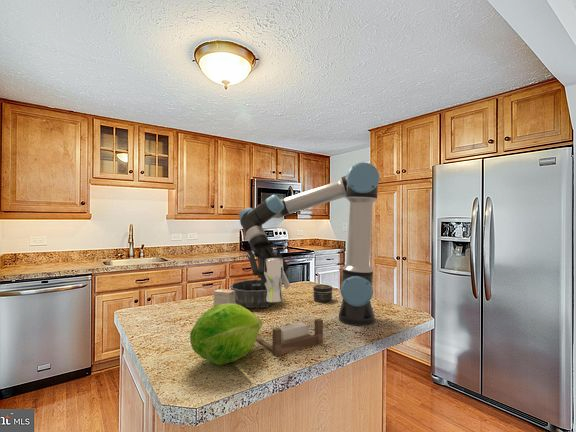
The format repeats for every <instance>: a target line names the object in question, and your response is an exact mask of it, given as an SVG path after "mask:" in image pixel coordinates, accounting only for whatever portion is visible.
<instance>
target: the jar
mask: <svg viewBox="0 0 576 432" xmlns="http://www.w3.org/2000/svg"><path fill="white" fill-rule="evenodd" d="M312 290H313V292H312V295H313V300H314V302H316V303H320V304H326V303H327V304H328V303H331V302H332V300H333V286H332V285H330V284H315V285H313V289H312Z"/></svg>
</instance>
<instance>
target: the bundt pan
mask: <svg viewBox="0 0 576 432" xmlns="http://www.w3.org/2000/svg"><path fill="white" fill-rule="evenodd" d="M229 287H230V290H235V304H238V305H241V306H243V307H244V308H246V309H248V308H249V309H253V308H256V309H259V308H266V307H272V306H273V305H274V304H276V303H277V302H267V301H266V296H267V288H266V286H265V283H262V281H261V279H246V280H241V281H237V282H233V283H231V285H229Z"/></svg>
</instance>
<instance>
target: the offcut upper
mask: <svg viewBox="0 0 576 432" xmlns="http://www.w3.org/2000/svg"><path fill="white" fill-rule="evenodd" d="M290 324H291V325H287V326H286V325H283V326H280V327H278V328H280V329H281V339H282V340H286V339H290V338H294V337H297V336H301V335H305V334H307V332H308V324H307V323H303V322H302V321H300V322H297V323H290Z"/></svg>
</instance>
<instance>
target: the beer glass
mask: <svg viewBox="0 0 576 432" xmlns="http://www.w3.org/2000/svg"><path fill="white" fill-rule="evenodd" d="M263 267H264V272H266V274H267V276H268V278H269V280H270V283H271V285H272V289H271V291H270V292H268V291H267V296H266V301H267V302H276V303H280V302H283V300H284V297H283V293H282V290H283V289H282V286H283V282H282V281H283V259H282V258H276V257H275V258H267V259H265V260H264V264H263ZM264 272H263V273H264Z"/></svg>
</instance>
